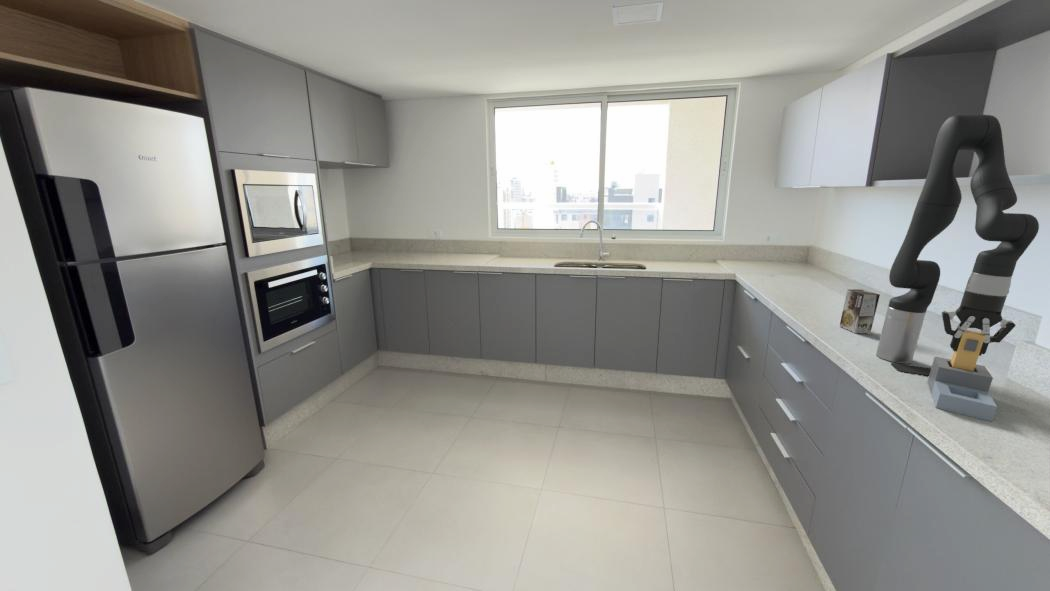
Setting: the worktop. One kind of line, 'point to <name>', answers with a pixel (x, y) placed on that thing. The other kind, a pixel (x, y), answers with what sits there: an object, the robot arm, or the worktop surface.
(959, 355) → the plug
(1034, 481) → the worktop surface
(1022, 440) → the worktop surface
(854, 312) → the coffee box
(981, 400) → the socket block
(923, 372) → the phone
